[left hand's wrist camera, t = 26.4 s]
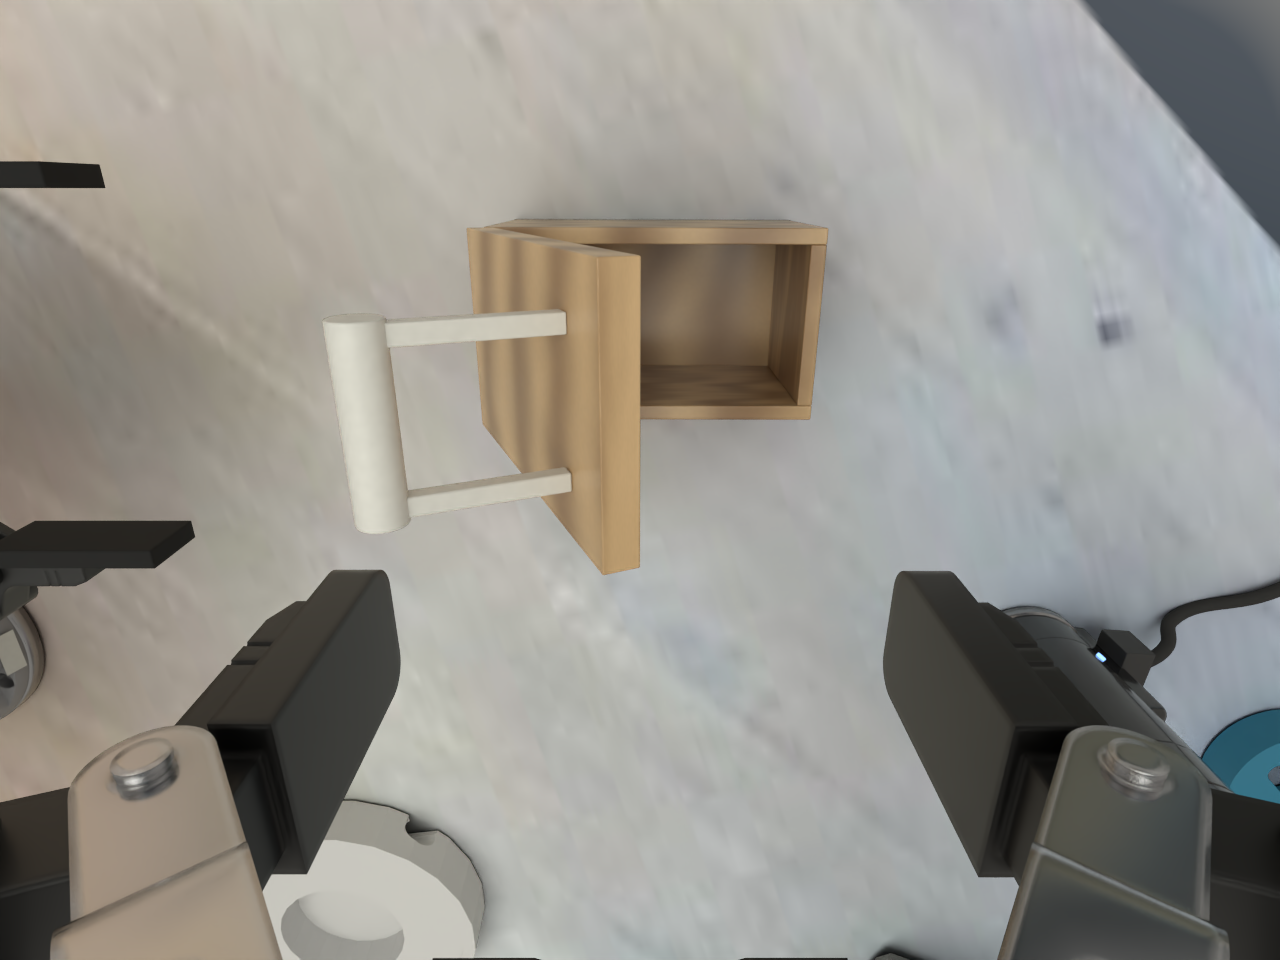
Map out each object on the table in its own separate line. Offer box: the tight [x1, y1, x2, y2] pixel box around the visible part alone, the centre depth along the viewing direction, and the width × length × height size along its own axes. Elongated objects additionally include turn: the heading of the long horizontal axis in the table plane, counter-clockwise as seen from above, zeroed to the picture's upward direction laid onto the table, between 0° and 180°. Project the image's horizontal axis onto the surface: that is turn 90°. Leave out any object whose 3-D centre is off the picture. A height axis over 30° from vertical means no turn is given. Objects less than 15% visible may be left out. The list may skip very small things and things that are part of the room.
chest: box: [484, 219, 828, 420], centre depth 41 cm, size 17×10×10 cm, turn 90°
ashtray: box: [263, 801, 485, 960], centre depth 64 cm, size 23×23×4 cm
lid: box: [322, 228, 641, 575], centre depth 27 cm, size 17×10×8 cm
